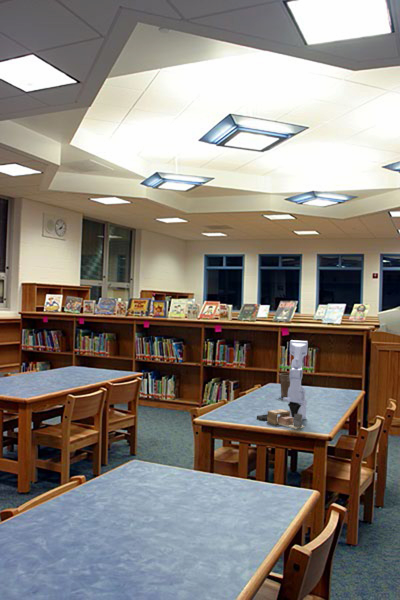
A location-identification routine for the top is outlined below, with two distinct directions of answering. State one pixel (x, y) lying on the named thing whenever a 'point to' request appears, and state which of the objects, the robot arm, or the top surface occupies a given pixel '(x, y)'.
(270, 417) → the tunnel
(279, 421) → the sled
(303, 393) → the robot arm
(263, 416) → the tray
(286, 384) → the plant pot
